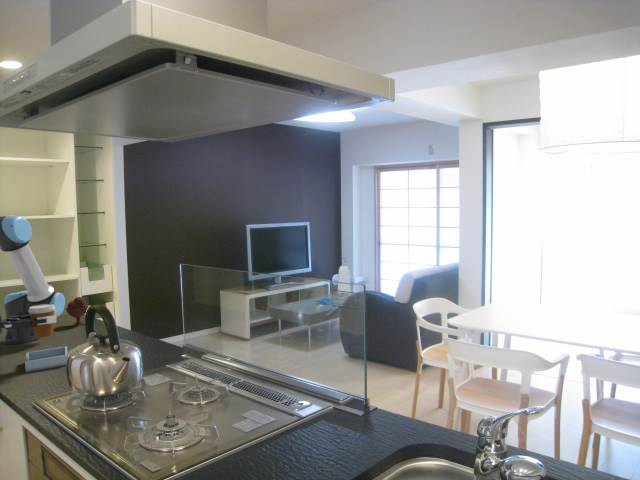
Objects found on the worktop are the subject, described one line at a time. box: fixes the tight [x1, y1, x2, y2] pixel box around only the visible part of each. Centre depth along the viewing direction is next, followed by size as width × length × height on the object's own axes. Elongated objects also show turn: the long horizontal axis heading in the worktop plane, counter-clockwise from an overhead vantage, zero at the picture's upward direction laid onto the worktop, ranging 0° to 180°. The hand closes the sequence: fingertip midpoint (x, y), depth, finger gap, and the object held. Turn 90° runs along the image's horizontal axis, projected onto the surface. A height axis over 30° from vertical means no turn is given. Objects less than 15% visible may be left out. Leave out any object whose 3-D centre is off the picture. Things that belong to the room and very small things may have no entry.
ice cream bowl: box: [65, 296, 90, 327], centre depth 266 cm, size 11×11×15 cm
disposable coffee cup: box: [28, 304, 55, 339], centre depth 199 cm, size 10×10×12 cm
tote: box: [24, 346, 69, 373], centre depth 201 cm, size 15×15×4 cm
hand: (56, 316), depth 201 cm, fingers closed on disposable coffee cup, 8 cm apart
